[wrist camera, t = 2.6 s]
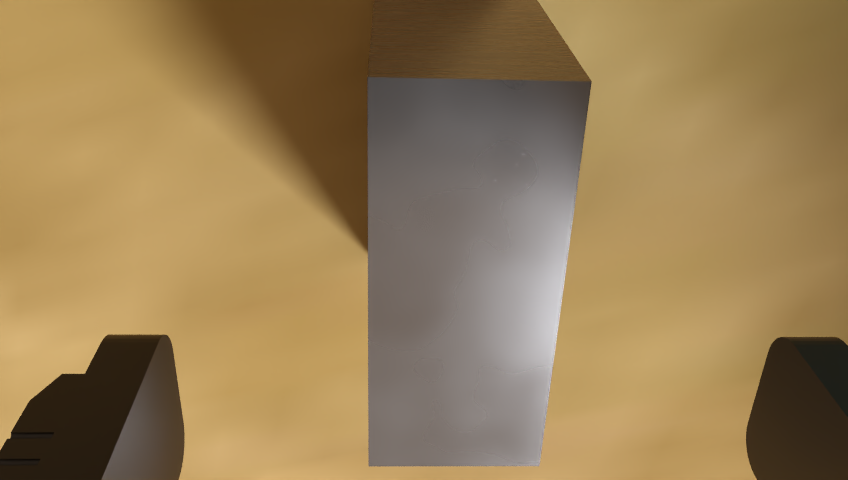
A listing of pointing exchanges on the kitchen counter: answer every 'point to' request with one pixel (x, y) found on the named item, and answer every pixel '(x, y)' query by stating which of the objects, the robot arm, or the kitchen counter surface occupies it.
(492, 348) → the brushed metal block
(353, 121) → the kitchen counter surface
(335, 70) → the kitchen counter surface
